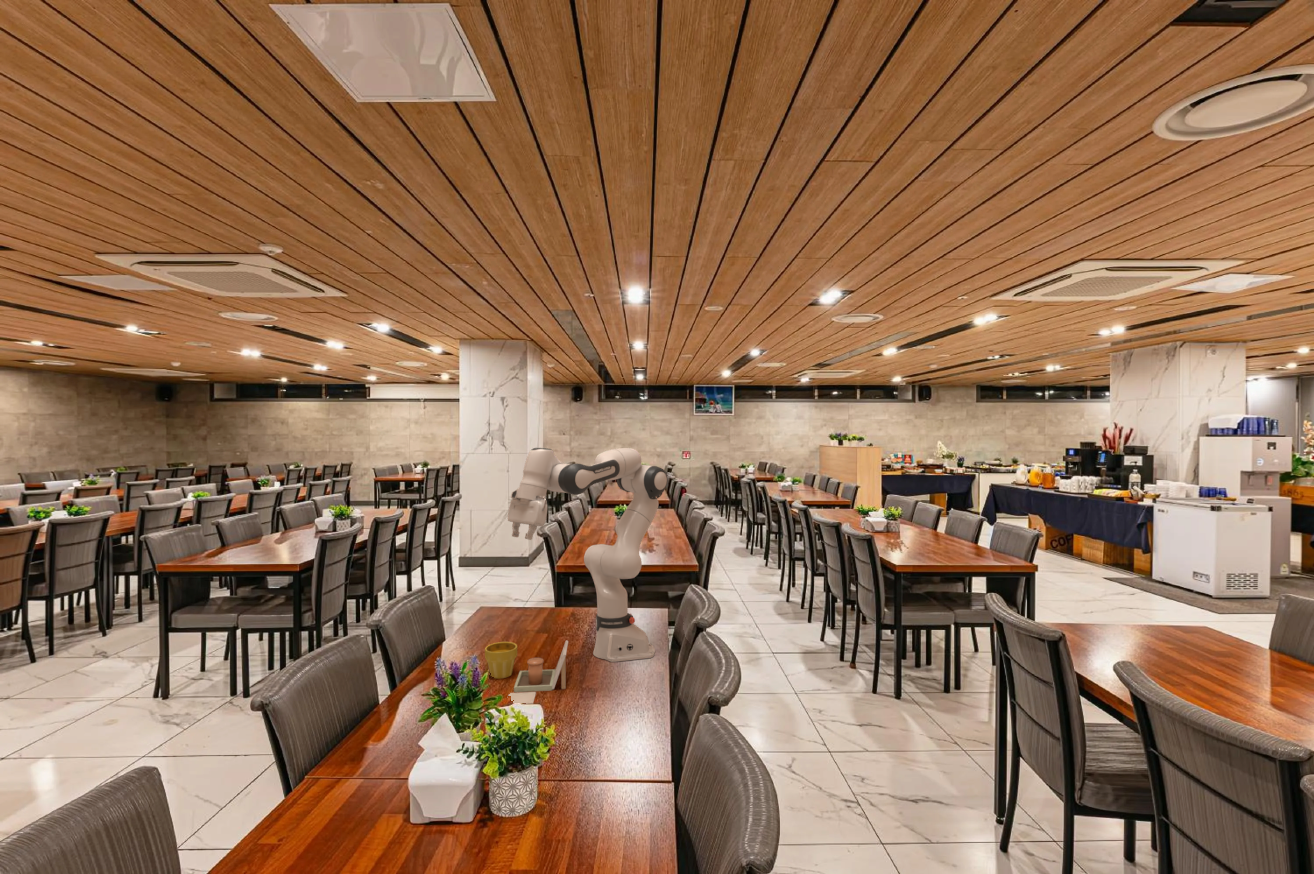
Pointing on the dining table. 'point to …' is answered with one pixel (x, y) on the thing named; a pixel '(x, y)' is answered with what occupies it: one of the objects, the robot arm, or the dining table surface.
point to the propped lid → (561, 668)
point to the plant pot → (501, 658)
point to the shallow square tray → (524, 686)
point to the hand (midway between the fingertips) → (521, 538)
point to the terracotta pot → (535, 671)
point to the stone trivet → (523, 697)
